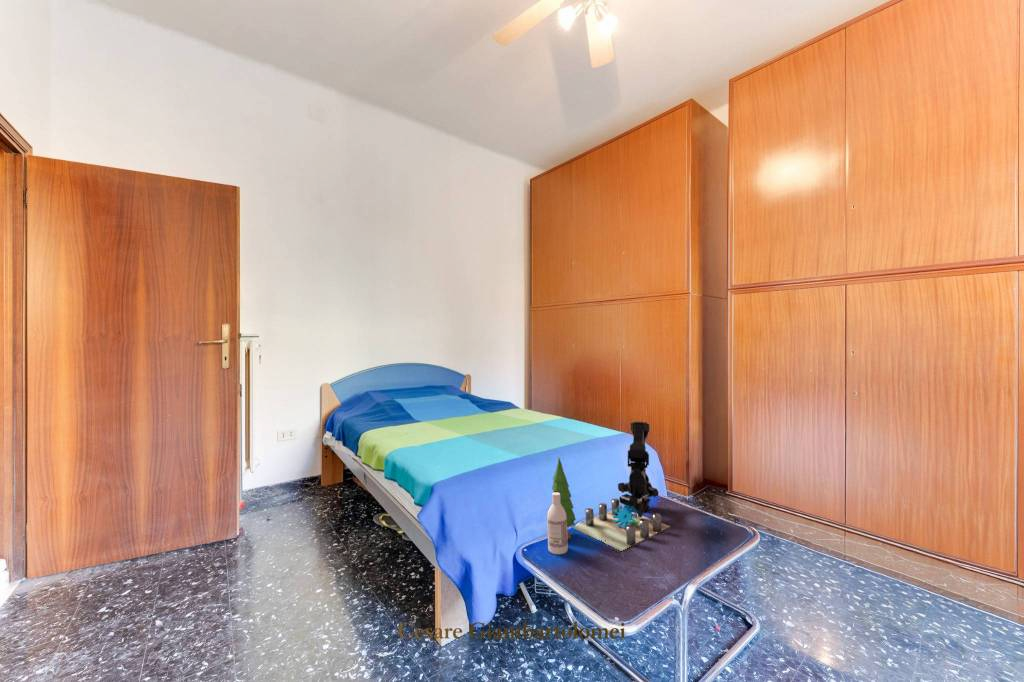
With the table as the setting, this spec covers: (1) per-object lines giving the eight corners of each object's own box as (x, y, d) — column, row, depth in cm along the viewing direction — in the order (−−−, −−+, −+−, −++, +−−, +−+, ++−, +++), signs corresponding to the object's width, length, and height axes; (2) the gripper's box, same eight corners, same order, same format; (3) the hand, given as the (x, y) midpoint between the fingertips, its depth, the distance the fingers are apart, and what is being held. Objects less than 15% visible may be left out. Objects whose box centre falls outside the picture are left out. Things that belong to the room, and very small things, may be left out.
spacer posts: (615, 512, 170) (614, 498, 171) (663, 530, 152) (662, 515, 152) (584, 524, 159) (583, 509, 159) (632, 546, 140) (631, 529, 141)
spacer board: (620, 508, 175) (620, 507, 175) (669, 527, 155) (669, 526, 155) (572, 528, 157) (572, 527, 157) (621, 552, 138) (621, 550, 138)
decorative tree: (557, 528, 157) (555, 453, 158) (580, 533, 153) (577, 455, 153) (548, 539, 148) (545, 459, 149) (572, 544, 144) (569, 462, 145)
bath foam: (569, 554, 137) (567, 496, 138) (549, 555, 137) (547, 497, 137) (565, 544, 144) (563, 489, 144) (546, 545, 144) (545, 490, 144)
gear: (607, 519, 159) (620, 498, 162) (613, 526, 162) (626, 506, 165) (629, 533, 150) (642, 511, 153) (635, 540, 153) (648, 518, 156)
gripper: (636, 469, 174) (637, 505, 174) (608, 478, 163) (609, 516, 163) (658, 475, 165) (660, 513, 165) (630, 485, 154) (632, 525, 154)
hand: (640, 516), depth 162 cm, fingers closed
